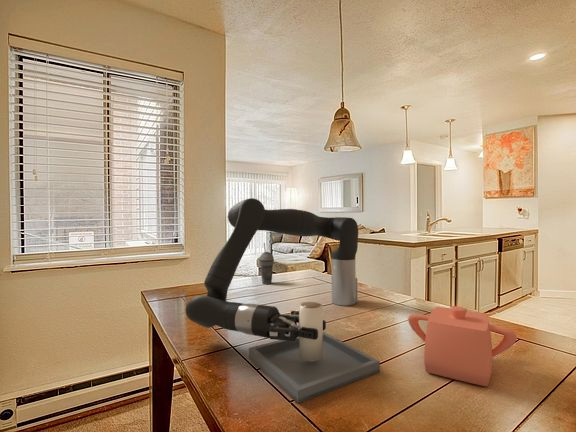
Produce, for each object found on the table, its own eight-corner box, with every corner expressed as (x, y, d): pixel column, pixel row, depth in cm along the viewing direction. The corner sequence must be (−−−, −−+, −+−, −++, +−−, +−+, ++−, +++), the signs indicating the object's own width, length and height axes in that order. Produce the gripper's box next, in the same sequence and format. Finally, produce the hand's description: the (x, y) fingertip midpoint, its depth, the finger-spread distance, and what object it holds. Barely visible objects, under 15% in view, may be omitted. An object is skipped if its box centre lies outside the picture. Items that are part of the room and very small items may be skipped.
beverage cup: (272, 285, 154) (271, 243, 154) (257, 284, 156) (257, 243, 155) (275, 282, 162) (275, 242, 161) (261, 281, 163) (261, 242, 163)
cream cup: (313, 348, 79) (313, 300, 79) (327, 357, 75) (327, 306, 74) (294, 354, 77) (294, 303, 76) (308, 363, 72) (308, 310, 72)
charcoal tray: (320, 338, 91) (320, 329, 91) (379, 372, 72) (379, 361, 72) (248, 357, 79) (248, 347, 79) (297, 403, 61) (297, 390, 61)
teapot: (519, 399, 62) (520, 327, 62) (401, 369, 74) (401, 308, 73) (512, 358, 79) (513, 301, 78) (417, 339, 90) (417, 289, 90)
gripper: (242, 313, 75) (311, 324, 68) (270, 297, 88) (330, 305, 81) (242, 345, 75) (311, 359, 68) (270, 325, 88) (330, 334, 81)
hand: (321, 329), depth 75 cm, fingers closed on cream cup, 5 cm apart
